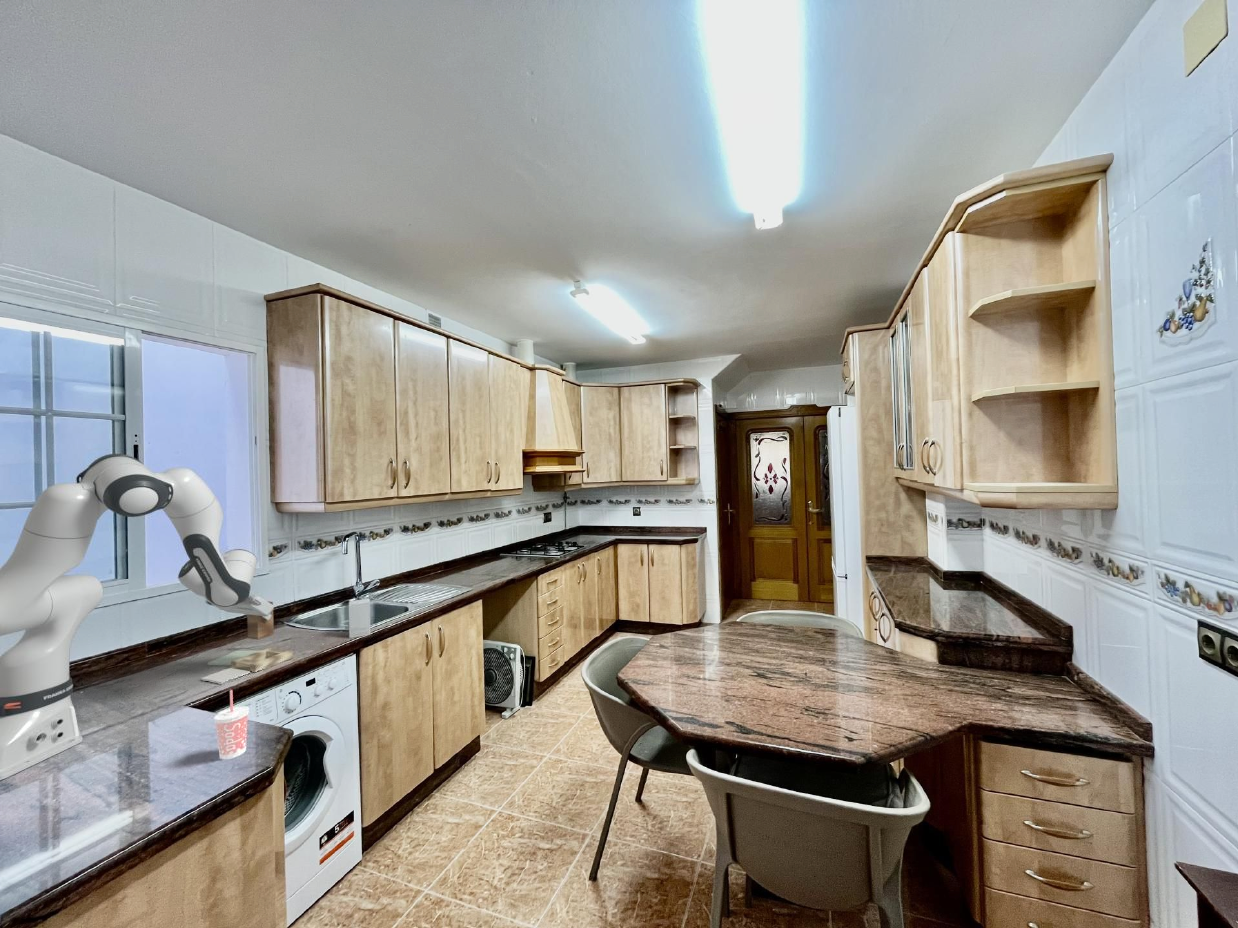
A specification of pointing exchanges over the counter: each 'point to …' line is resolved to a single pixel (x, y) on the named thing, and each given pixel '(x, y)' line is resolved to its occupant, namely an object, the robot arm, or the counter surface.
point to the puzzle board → (250, 664)
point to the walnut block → (260, 626)
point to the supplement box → (359, 618)
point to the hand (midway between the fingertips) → (262, 616)
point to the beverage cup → (232, 730)
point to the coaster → (231, 657)
